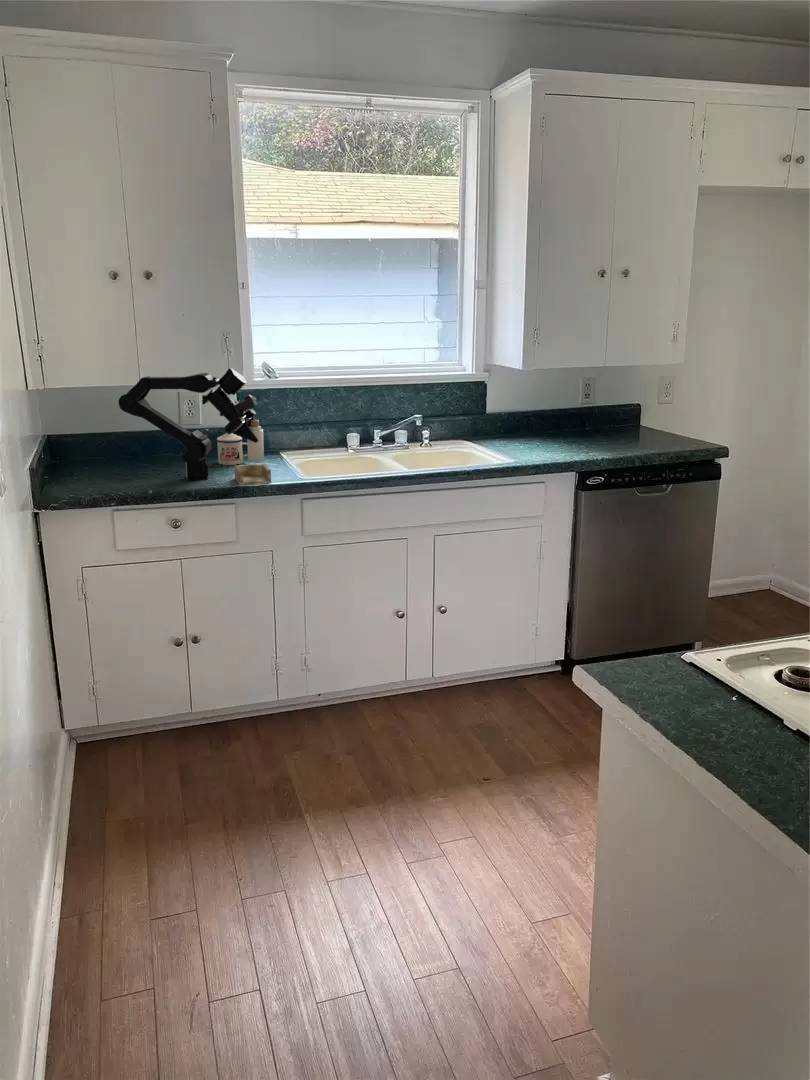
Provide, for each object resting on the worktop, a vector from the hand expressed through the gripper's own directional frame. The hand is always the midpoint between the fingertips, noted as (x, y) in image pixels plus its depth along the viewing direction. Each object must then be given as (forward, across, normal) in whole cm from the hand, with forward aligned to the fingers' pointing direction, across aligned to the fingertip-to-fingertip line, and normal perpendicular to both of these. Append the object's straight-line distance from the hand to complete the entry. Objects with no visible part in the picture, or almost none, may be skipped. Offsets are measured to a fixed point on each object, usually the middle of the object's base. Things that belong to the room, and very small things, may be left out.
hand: (259, 440), depth 271 cm
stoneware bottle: (+4, 0, +6) cm, 7 cm away
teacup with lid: (-1, +25, +21) cm, 32 cm away
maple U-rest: (+8, -1, +11) cm, 14 cm away
